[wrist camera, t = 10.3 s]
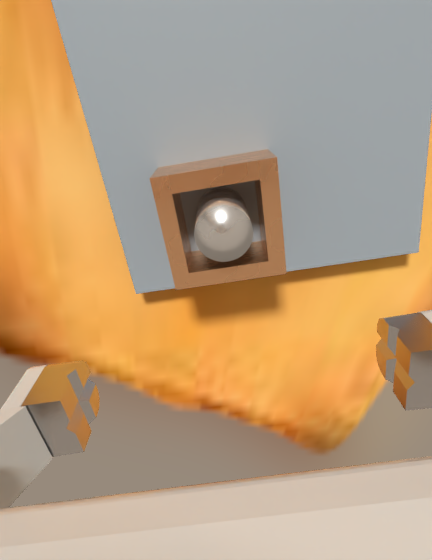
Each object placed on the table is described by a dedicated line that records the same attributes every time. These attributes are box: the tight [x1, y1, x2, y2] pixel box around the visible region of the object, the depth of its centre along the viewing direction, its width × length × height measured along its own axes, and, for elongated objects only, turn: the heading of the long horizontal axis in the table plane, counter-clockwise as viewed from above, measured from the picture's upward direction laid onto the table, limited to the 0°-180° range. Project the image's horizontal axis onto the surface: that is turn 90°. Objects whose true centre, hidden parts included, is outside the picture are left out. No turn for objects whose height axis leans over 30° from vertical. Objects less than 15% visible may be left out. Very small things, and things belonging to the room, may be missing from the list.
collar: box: [150, 149, 287, 290], centre depth 22 cm, size 7×7×4 cm
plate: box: [51, 0, 432, 294], centre depth 22 cm, size 20×20×2 cm
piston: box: [194, 187, 253, 262], centre depth 22 cm, size 3×3×4 cm
